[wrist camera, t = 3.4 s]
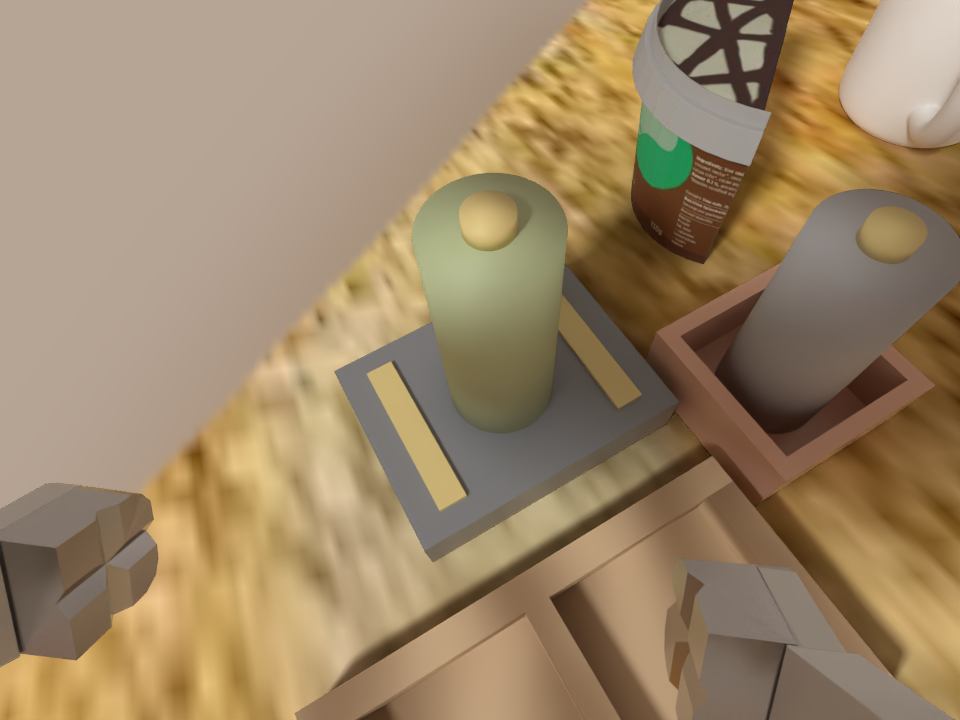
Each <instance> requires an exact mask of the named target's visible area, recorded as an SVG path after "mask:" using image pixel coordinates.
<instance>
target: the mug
mask: <svg viewBox="0 0 960 720" xmlns="http://www.w3.org/2000/svg"><path fill="white" fill-rule="evenodd" d="M839 98H840V102H841V105H842V107H843V109H844V111H845V112H846V114H847V115H848V117H849V118H850V119H851V120H852V121H853V122H854V123H855V124H856V125H857V126H858V127H860V128H861V129H862V130H864V131H865V132H867V133H868V134H870V135H872V136H874V137H876V138H878V139H881V140H883V141H886V142H889V143H892V144H895V145H899V146H904V147H911V148H939V147H944V146H949V145H953V144H956V143H959V142H960V0H881V1H880V3H879V5H878V7H877V9H876V11H875V13H874V15H873V17H872V18H871V20H870V22H869V24H868V26H867V28H866V30H865V32H864V34H863V36H862V37H861V39H860V41H859V43H858V45H857V47H856V49H855V51H854V53H853V55H852V57H851V58H850V60H849V62H848V64H847V66H846V68H845V71H844V73H843V76H842V79H841V82H840V85H839Z"/></svg>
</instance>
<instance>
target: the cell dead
mask: <svg viewBox="0 0 960 720" xmlns="http://www.w3.org/2000/svg"><path fill="white" fill-rule="evenodd" d="M959 281H960V238H959V236H958V235H957V233H956V232H955V230H954V229H953V228H952V227H951V225H950V224H949V223H948V222H947V221H946V220H945V219H944V218H942V217H941V216H940V215H939V214H938V213H936V212H935V211H933V210H932V209H931V208H929V207H927V206H926V205H924V204H922V203H920V202H918V201H916V200H914V199H911V198H909V197H906V196H903V195H900V194H897V193H893V192H888V191H883V190H874V189H858V190H850V191H845V192H841V193H838V194H835V195H833V196H831V197H829V198H827V199H826V200H824V201H822V202H821V203H820V204H819V205H818V206H817V207H816V208H815V209H814V211H813V212H812V214H811V215H810V217H809V218H808V220H807V222H806V223H805V225H804V227H803V228H802V230H801V231H800V233H799V235H798V236H797V238H796V240H795V241H794V243H793V244H792V246H791V248H790V249H789V251H788V253H787V254H786V256H785V257H784V259H783V261H782V262H781V264H780V266H779V267H778V269H777V270H776V272H775V274H774V275H773V277H772V279H771V280H770V282H769V283H768V285H767V287H766V288H765V290H764V292H763V293H762V295H761V296H760V298H759V300H758V301H757V303H756V305H755V306H754V308H753V309H752V311H751V313H750V314H749V316H748V318H747V319H746V321H745V322H744V324H743V326H742V327H741V329H740V331H739V332H738V334H737V335H736V337H735V339H734V340H733V342H732V344H731V345H730V347H729V348H728V350H727V352H726V353H725V355H724V357H723V358H722V360H721V361H720V363H719V365H718V367H717V369H716V371H715V376H716V377H717V378H718V379H719V381H720V382H721V383H722V384H723V385H724V386H725V387H726V389H727V390H728V391H729V392H730V393H731V394H732V395H733V396H734V398H735V399H736V400H737V401H738V402H739V403H740V404H741V405H742V407H743V408H744V409H745V410H746V411H747V412H748V413H749V414H750V416H751V417H752V418H753V419H754V420H755V421H756V422H757V424H758V425H759V426H760V427H761V428H762V429H763V430H764V431H765V433H766V434H784V433H789V432H792V431H794V430H797V429H798V428H800V427H802V426H803V425H804V424H806V423H807V422H808V421H809V420H810V419H811V418H812V417H813V416H814V415H815V414H817V413H818V412H819V411H820V410H821V409H822V408H823V407H824V406H825V405H826V404H827V403H829V402H830V401H831V400H832V399H833V398H834V397H835V396H836V395H837V394H838V393H839V392H841V391H842V390H843V389H844V388H845V387H846V386H847V385H848V384H849V383H850V382H851V381H853V380H854V379H855V378H856V377H857V376H858V375H859V374H860V373H861V372H862V371H863V370H865V369H866V368H867V367H868V366H869V365H870V364H871V363H872V362H873V361H874V360H875V359H877V358H878V357H879V356H880V355H881V354H882V353H883V352H884V351H885V350H886V349H887V348H889V347H890V346H891V345H892V344H893V343H894V342H895V341H896V340H897V339H898V338H899V337H901V336H902V335H903V334H904V333H905V332H906V331H907V330H908V329H909V328H910V327H912V326H913V325H914V324H915V323H916V322H917V321H918V320H919V319H920V318H921V317H922V316H924V315H925V314H926V313H927V312H928V311H929V310H930V309H931V308H932V307H933V306H934V305H936V304H937V303H938V302H939V301H940V300H941V299H942V298H943V297H944V296H945V295H946V294H948V293H949V292H950V291H951V290H952V289H953V288H954V287H955V286H956V285H957V284H958V283H959Z"/></svg>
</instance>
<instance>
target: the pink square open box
mask: <svg viewBox="0 0 960 720" xmlns="http://www.w3.org/2000/svg"><path fill="white" fill-rule="evenodd" d="M780 264H781V263H779V264H777V265H776V266H774V267H772V268H770V269H768V270H767V271H765V272H763V273H761V274H759V275H758V276H756V277H754V278H752V279H750V280H749V281H747V282H745V283H743V284H741V285H739V286H738V287H736V288H734V289H732V290H730V291H729V292H727V293H725V294H723V295H721V296H720V297H718V298H716V299H714V300H712V301H711V302H709V303H707V304H705V305H703V306H701V307H700V308H698V309H696V310H694V311H692V312H691V313H689V314H687V315H685V316H683V317H682V318H680V319H678V320H676V321H674V322H673V323H671V324H669V325H667V326H665V327H663V328H662V329H660V330H658V331H656V333H655V336H654V339H653V341H652V344H651V347H650V349H649V352H648V354H647V357H646V360H645V361H646V362H647V363H648V364H649V365H650V367H651V368H652V369H653V370H654V371H655V373H656V374H657V375H658V376H659V377H660V379H661V380H662V381H663V382H664V384H665V385H666V386H667V387H668V388H669V390H670V391H671V392H672V393H673V394H674V396H675V397H676V398H677V399H678V400H679V403H678V405H677V407H676V408H675V412H676V413H677V414H678V415H679V417H680V418H681V419H682V420H683V421H684V423H685V424H686V425H687V426H688V428H689V429H690V430H691V431H692V433H693V434H694V435H695V436H696V437H697V439H698V440H699V441H700V442H701V444H702V445H703V446H704V447H705V448H706V450H707V451H708V452H709V453H710V455H711V456H713V457H714V458H715V460H716V461H717V462H718V463H719V464H720V466H721V467H722V468H723V469H724V471H725V472H726V473H727V474H728V475H729V477H730V478H731V479H732V480H733V482H734V483H735V484H736V485H737V486H738V488H739V489H740V490H741V491H742V493H743V494H744V495H745V496H746V497H747V499H748V500H749V501H750V502H751V504H752V505H753V506H756V505H757V504H759V503H760V502H762V501H763V500H765V499H766V498H768V497H769V496H771V495H772V494H774V493H776V492H777V491H779V490H780V489H782V488H783V487H785V486H786V485H788V484H789V483H791V482H793V481H794V480H796V479H797V478H799V477H800V476H802V475H803V474H805V473H806V472H808V471H810V470H811V469H813V468H814V467H816V466H817V465H819V464H820V463H822V462H823V461H825V460H826V459H828V458H830V457H831V456H833V455H834V454H836V453H837V452H839V451H840V450H842V449H843V448H845V447H847V446H848V445H850V444H851V443H853V442H854V441H856V440H857V439H859V438H860V437H862V436H864V435H865V434H867V433H868V432H870V431H871V430H873V429H874V428H876V427H877V426H879V425H880V424H882V423H884V422H885V421H887V420H888V419H889V418H891V417H892V416H894V415H895V414H896V413H898V412H899V411H901V410H902V409H903V408H905V407H906V406H908V405H909V404H910V403H912V402H913V401H914V400H916V399H917V398H919V397H920V396H921V395H923V394H924V393H926V392H927V391H928V390H930V389H931V388H933V387H934V386H935V384H934V383H933V382H932V381H931V380H929V379H928V378H927V377H926V376H925V375H924V374H923V373H922V372H921V371H920V370H918V369H917V368H916V367H915V366H914V365H913V364H912V363H911V362H910V361H909V360H907V359H906V358H905V357H904V356H903V355H902V354H901V353H900V352H899V351H898V350H896V349H895V348H894V347H893V346H892V345H891V346H890V347H889V348H887V349H886V350H885V351H884V352H883V353H882V354H881V355H880V356H879V357H878V358H877V359H875V360H874V361H873V362H872V363H871V364H870V365H869V366H868V367H867V368H866V369H865V370H863V371H862V372H861V373H860V374H859V375H858V376H857V377H856V378H855V379H854V380H853V381H851V382H850V383H849V384H848V385H847V386H846V387H845V388H844V389H843V390H842V391H841V392H839V393H838V394H837V395H836V396H835V397H834V398H833V399H832V400H831V401H830V402H829V403H827V404H826V405H825V406H824V407H823V408H822V409H821V410H820V411H819V412H818V413H817V414H815V415H814V416H813V417H812V418H811V419H810V420H809V421H808V422H807V423H806V424H804V425H803V426H802V427H800V428H798V429H797V430H794V431H792V432H789V433H784V434H766V433H765V431H764V430H763V429H762V428H761V427H760V426H759V425H758V424H757V422H756V421H755V420H754V419H753V418H752V417H751V416H750V414H749V413H748V412H747V411H746V410H745V409H744V408H743V407H742V405H741V404H740V403H739V402H738V401H737V400H736V399H735V398H734V396H733V395H732V394H731V393H730V392H729V391H728V390H727V389H726V387H725V386H724V385H723V384H722V383H721V382H720V381H719V379H718V378H717V377H716V376H715V371H716V369H717V367H718V365H719V363H720V361H721V360H722V358H723V357H724V355H725V353H726V352H727V350H728V348H729V347H730V345H731V344H732V342H733V340H734V339H735V337H736V335H737V334H738V332H739V331H740V329H741V327H742V326H743V324H744V322H745V321H746V319H747V318H748V316H749V314H750V313H751V311H752V309H753V308H754V306H755V305H756V303H757V301H758V300H759V298H760V296H761V295H762V293H763V292H764V290H765V288H766V287H767V285H768V283H769V282H770V280H771V279H772V277H773V275H774V274H775V272H776V270H777V269H778V267H779V266H780Z"/></svg>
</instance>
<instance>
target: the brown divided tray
mask: <svg viewBox="0 0 960 720" xmlns="http://www.w3.org/2000/svg"><path fill="white" fill-rule="evenodd" d="M678 558H685V559H695V560H706V561H717V562H727V563H738V564H749V565H752V564H753V565H765V566H777V567H789V568H791V569H792V570H794V571H795V572H796V573H797V575H798V576H799V578H800V579H801V581H802V583H803V584H804V586H805V587H806V589H807V590H808V592H809V594H810V595H811V597H812V598H813V600H814V602H815V603H816V605H817V606H818V608H819V610H820V611H821V613H822V614H823V616H824V617H825V619H826V621H827V622H828V624H829V625H830V627H831V629H832V630H833V632H834V633H835V635H836V636H837V638H838V640H839V641H840V643H841V644H842V646H843V648H844V649H845V651H846V652H847V653H852V654H860V655H861V656H862V657H864V658H865V659H867V660H868V661H870V662H871V663H873V664H874V665H876V666H877V667H879V668H880V669H882V670H883V671H884V672H886V673H887V674H889V675H890V676H892V675H891V674H890V673H889V671H888V670H887V669H886V668H885V666H884V665H883V664H882V663H881V662H880V660H879V659H878V658H877V657H876V655H875V654H874V653H873V652H872V651H871V649H870V648H869V647H868V646H867V644H866V643H865V642H864V641H863V640H862V638H861V637H860V636H859V635H858V633H857V632H856V631H855V630H854V629H853V627H852V626H851V625H850V624H849V622H848V621H847V620H846V619H845V617H844V616H843V615H842V614H841V613H840V611H839V610H838V609H837V608H836V606H835V605H834V604H833V603H832V602H831V600H830V599H829V598H828V597H827V595H826V594H825V593H824V592H823V591H822V589H821V588H820V587H819V586H818V584H817V583H816V582H815V581H814V580H813V578H812V577H811V576H810V575H809V573H808V572H807V571H806V570H805V569H804V567H803V566H802V565H801V564H800V562H799V561H798V560H797V559H796V557H795V556H794V555H793V554H792V553H791V551H790V550H789V549H788V548H787V546H786V545H785V544H784V543H783V542H782V540H781V539H780V538H779V537H778V535H777V534H776V533H775V532H774V531H773V529H772V528H771V527H770V526H769V524H768V523H767V522H766V521H765V520H764V518H763V517H762V516H761V515H760V513H759V512H758V511H757V510H756V509H755V507H754V506H753V505H752V504H751V502H750V501H749V500H748V499H747V497H746V496H745V495H744V494H743V493H742V491H741V490H740V489H739V488H738V486H737V485H736V484H735V483H734V482H733V480H732V479H731V478H730V477H729V475H728V474H727V473H726V472H725V471H724V469H723V468H722V467H721V466H720V464H719V463H718V462H717V461H716V460H715V458H714V457H713V456H711V457H710V458H708V459H706V460H705V461H703V462H702V463H700V464H698V465H697V466H695V467H693V468H692V469H690V470H689V471H687V472H685V473H684V474H682V475H680V476H679V477H677V478H676V479H674V480H672V481H671V482H669V483H667V484H666V485H664V486H663V487H661V488H659V489H658V490H656V491H654V492H653V493H651V494H650V495H648V496H646V497H645V498H643V499H641V500H640V501H638V502H637V503H635V504H633V505H632V506H630V507H629V508H627V509H625V510H624V511H622V512H620V513H619V514H617V515H616V516H614V517H612V518H611V519H609V520H607V521H606V522H604V523H603V524H601V525H599V526H598V527H596V528H594V529H593V530H591V531H590V532H588V533H586V534H585V535H583V536H581V537H580V538H578V539H577V540H575V541H573V542H572V543H570V544H568V545H567V546H565V547H564V548H562V549H560V550H559V551H557V552H556V553H554V554H552V555H551V556H549V557H547V558H546V559H544V560H543V561H541V562H539V563H538V564H536V565H534V566H533V567H531V568H530V569H528V570H526V571H525V572H523V573H521V574H520V575H518V576H517V577H515V578H513V579H512V580H510V581H508V582H507V583H505V584H504V585H502V586H500V587H499V588H497V589H495V590H494V591H492V592H491V593H489V594H487V595H486V596H484V597H482V598H481V599H479V600H478V601H476V602H474V603H473V604H471V605H470V606H468V607H466V608H465V609H463V610H461V611H460V612H458V613H457V614H455V615H453V616H452V617H450V618H448V619H447V620H445V621H444V622H442V623H440V624H439V625H437V626H435V627H434V628H432V629H431V630H429V631H427V632H426V633H424V634H422V635H421V636H419V637H418V638H416V639H414V640H413V641H411V642H409V643H408V644H406V645H405V646H403V647H401V648H400V649H398V650H397V651H395V652H393V653H392V654H390V655H388V656H387V657H385V658H384V659H382V660H380V661H379V662H377V663H375V664H374V665H372V666H371V667H369V668H367V669H366V670H364V671H362V672H361V673H359V674H358V675H356V676H354V677H353V678H351V679H349V680H348V681H346V682H345V683H343V684H341V685H340V686H338V687H336V688H335V689H333V690H332V691H330V692H328V693H327V694H325V695H323V696H322V697H320V698H319V699H317V700H315V701H314V702H312V703H311V704H309V705H307V706H306V707H304V708H302V709H301V710H299V711H298V712H296V713H295V715H296V718H297V720H678V719H677V714H676V710H675V707H676V701H677V695H678V690H677V688H676V687H675V686H674V685H673V684H672V683H671V682H670V681H669V678H668V673H667V668H666V661H665V652H664V639H665V623H666V616H667V609H668V608H669V607H671V606H672V605H673V604H674V603H675V602H676V601H677V600H676V597H675V593H674V589H673V586H672V578H673V573H674V567H675V565H676V562H677V559H678ZM892 677H893V676H892ZM893 678H894V677H893Z"/></svg>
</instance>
